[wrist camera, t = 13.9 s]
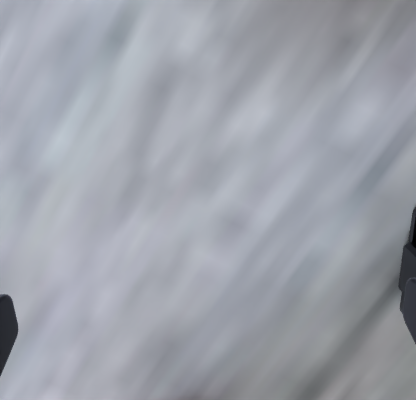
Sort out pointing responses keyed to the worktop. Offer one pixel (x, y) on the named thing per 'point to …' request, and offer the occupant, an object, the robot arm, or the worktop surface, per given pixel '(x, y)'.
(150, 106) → the worktop surface
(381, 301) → the worktop surface
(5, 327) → the robot arm
